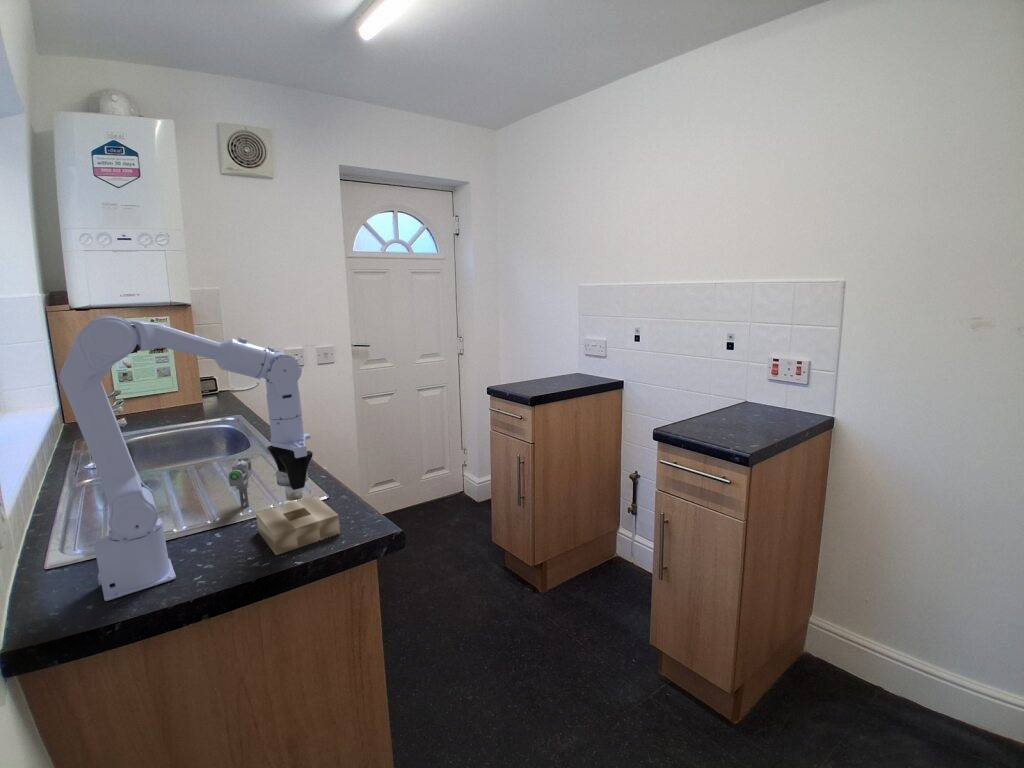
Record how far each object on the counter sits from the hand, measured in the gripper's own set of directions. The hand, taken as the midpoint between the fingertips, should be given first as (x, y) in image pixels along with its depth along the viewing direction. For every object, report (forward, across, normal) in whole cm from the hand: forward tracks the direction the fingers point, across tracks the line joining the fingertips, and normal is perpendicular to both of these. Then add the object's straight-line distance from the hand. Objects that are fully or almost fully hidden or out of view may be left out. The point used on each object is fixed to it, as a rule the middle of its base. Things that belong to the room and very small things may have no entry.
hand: (293, 483), depth 99 cm
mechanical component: (+11, +21, +5) cm, 24 cm away
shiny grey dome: (+3, 0, 0) cm, 3 cm away
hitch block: (+10, 0, 0) cm, 10 cm away
